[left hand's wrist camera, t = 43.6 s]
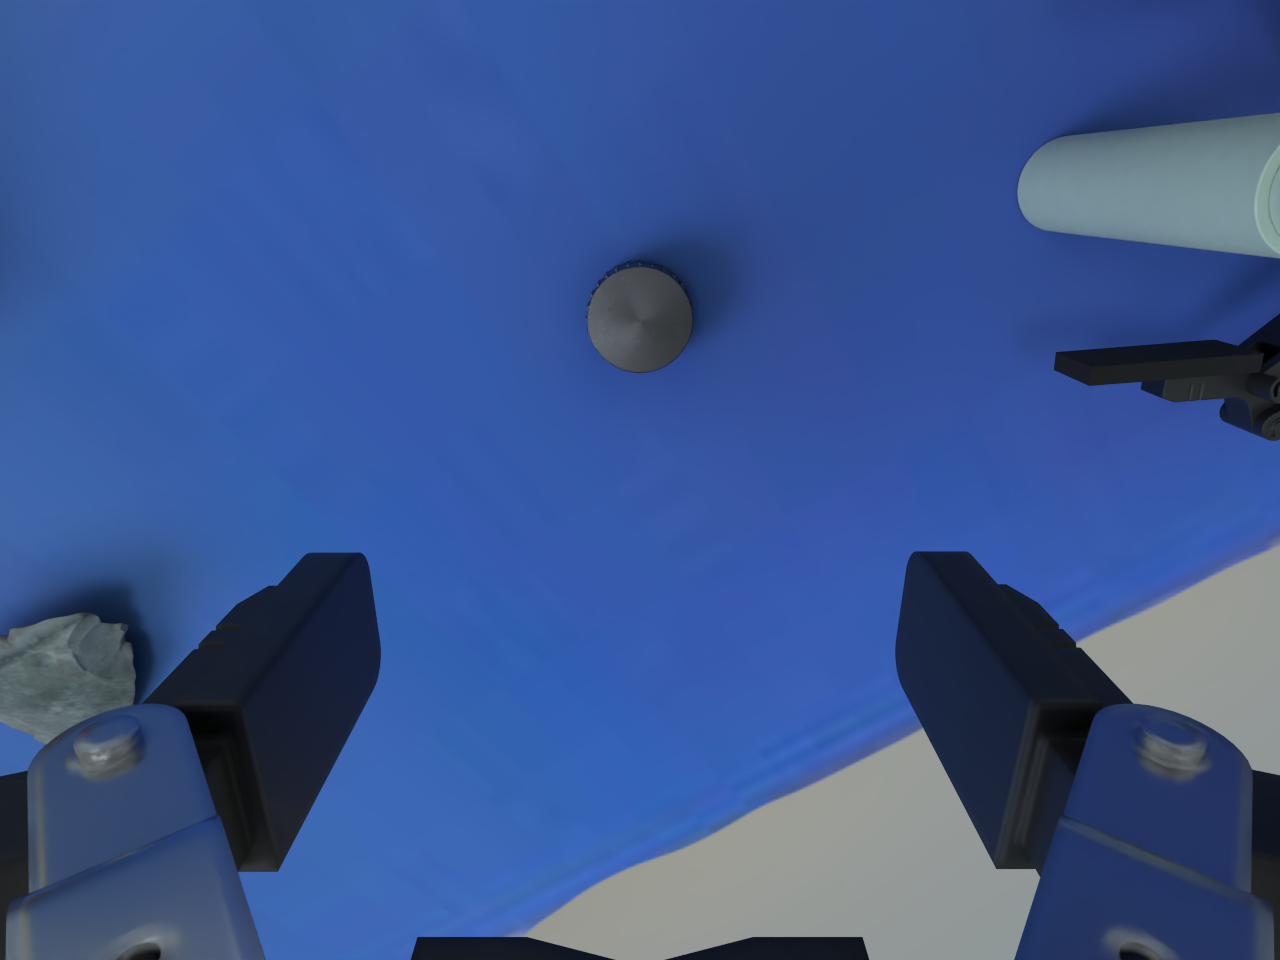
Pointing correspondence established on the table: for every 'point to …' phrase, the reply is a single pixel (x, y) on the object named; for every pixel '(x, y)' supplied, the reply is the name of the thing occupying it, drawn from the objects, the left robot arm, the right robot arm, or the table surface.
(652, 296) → the lid
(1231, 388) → the right robot arm
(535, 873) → the table surface
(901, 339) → the table surface
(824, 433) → the table surface
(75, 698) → the stone
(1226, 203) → the pale green rounded cylinder
